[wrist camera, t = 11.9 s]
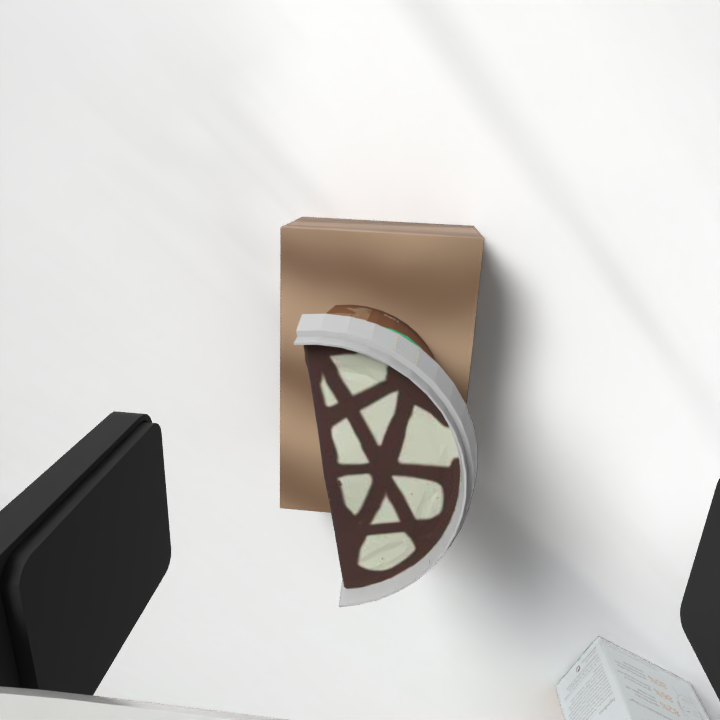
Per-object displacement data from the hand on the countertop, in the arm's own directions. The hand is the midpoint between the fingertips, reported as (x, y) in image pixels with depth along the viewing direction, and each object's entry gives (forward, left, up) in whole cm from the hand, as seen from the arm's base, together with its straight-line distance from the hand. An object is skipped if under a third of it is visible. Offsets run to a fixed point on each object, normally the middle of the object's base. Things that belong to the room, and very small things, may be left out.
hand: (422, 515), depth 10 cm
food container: (+6, 0, -21) cm, 22 cm away
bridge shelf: (+6, -2, -27) cm, 28 cm away
